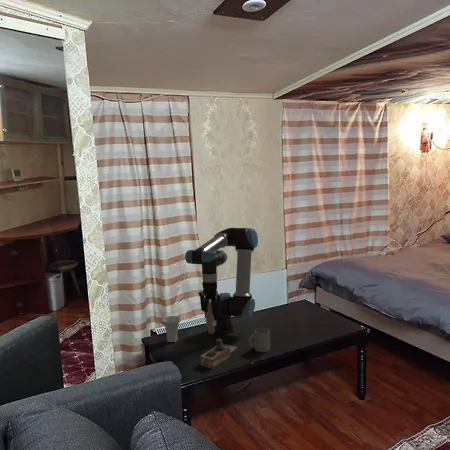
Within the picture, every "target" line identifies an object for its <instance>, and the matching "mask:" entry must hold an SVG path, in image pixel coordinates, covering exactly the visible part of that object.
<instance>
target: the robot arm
mask: <svg viewBox="0 0 450 450" xmlns="http://www.w3.org/2000/svg"><path fill="white" fill-rule="evenodd" d="M258 243H259V239H258V233H257V231H256V230H255V229H254V228H250V227H249V228H248V227H229V228H225V229H223V230H220V231H219V232H216V233H215V234H214V235H213V237H212V238H211V239H209V240H208V241H206V242H204V243H203V244H202V245H200V246H199V247H197V248H196V249H190V250H189V249H188V250H187V251H186V252H185V254H184V258H185V261H186V263H187V264H189V265H200V266H201V274H202V275H201V277H202V278H201V279H202V290H201V291H199V292H198V295H199V296H198V297H199V301H200V302H199V303H200V308H201V309H200V310H201V311H202V312H204V319H205V326H208V305H207V302H211V304H212V310H213V314H212V327H214V329H215V333H213V335H218V336H219V335H220V336H222V335H229V334H232V333H234V332H235V324H234V322H233V319H232V317H236V318H237V317H238V318H245V319H246V318H248V319H249V318H251V317H252V316H253V313H254V312H255V309H256V300H255V299H254V298H253V295H252V293H251V292H250V291H251V289H250V288H251V274H252V273H251V271H252V253H253V252H254V251H255V248H257V246H258ZM225 247H234V250H235V251H236V253H237V255H236V256H237V257H236V258H237V259H236V277H235V279H236V280H235V292H234V293H233V294H232V295H231V293H229V292H222V293H219V292H218V290H217V289H218V281H217V280H218V273H217V271H218V270H217V267H219V266H221V265H224V264H225V263H226V262H227V260H228V255H227V253H226V251H224V250H221V249H223V248H225Z"/></svg>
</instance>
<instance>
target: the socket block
mask: <svg viewBox="0 0 450 450" xmlns="http://www.w3.org/2000/svg"><path fill="white" fill-rule="evenodd" d="M215 341H216V342H215V343H216V345H215V346H213V347H212V348H210V349H209V350H207V351H206V352H205V353H203V354H200V356H199V360H200V366H201V367H204V368H208V369H212V370H214V369H215V368H217V366H218V365H220V364H222V362H224V361H225V360H227V359H228V358H230V357H231V353H230V348H229V347H225V346H222V344H223V338H217V339H216V340H215Z"/></svg>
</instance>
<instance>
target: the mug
mask: <svg viewBox="0 0 450 450" xmlns="http://www.w3.org/2000/svg"><path fill="white" fill-rule="evenodd" d="M253 331H254V332H253V334H250V336H249V340H248V343H249V345H250V347H252V348H254V350H255V352H256V351H257V352H258V353H268V352H269V351H271V341H270V339H271V338H270V329H269V328H266V327H257V328H255V329H254V330H253ZM253 338H254V341H253V342H254V343H252V339H253Z"/></svg>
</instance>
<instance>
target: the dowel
mask: <svg viewBox="0 0 450 450" xmlns="http://www.w3.org/2000/svg"><path fill="white" fill-rule="evenodd" d="M207 305H208V325H207V331H208V332H207V333H208V334H211V335H212V334H214V333H215V329H214V327H212V314H213V310H212V304H211V301H210V302H207Z"/></svg>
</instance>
